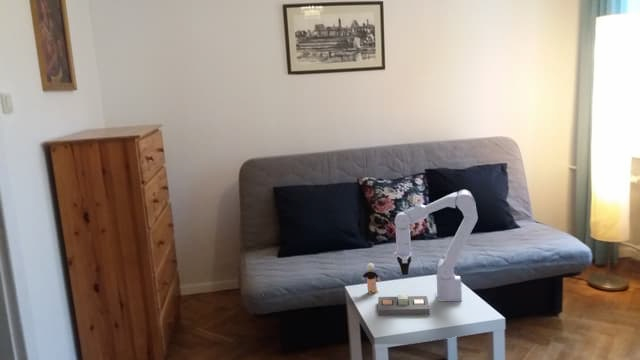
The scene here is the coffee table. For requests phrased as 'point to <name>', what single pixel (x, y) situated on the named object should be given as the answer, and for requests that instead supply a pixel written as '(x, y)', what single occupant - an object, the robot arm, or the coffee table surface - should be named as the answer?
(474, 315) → the coffee table surface
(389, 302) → the terracotta key
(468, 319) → the coffee table surface
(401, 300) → the sage key
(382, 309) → the grey slotted board
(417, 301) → the ivory key
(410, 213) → the robot arm
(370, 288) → the grandmother figurine
